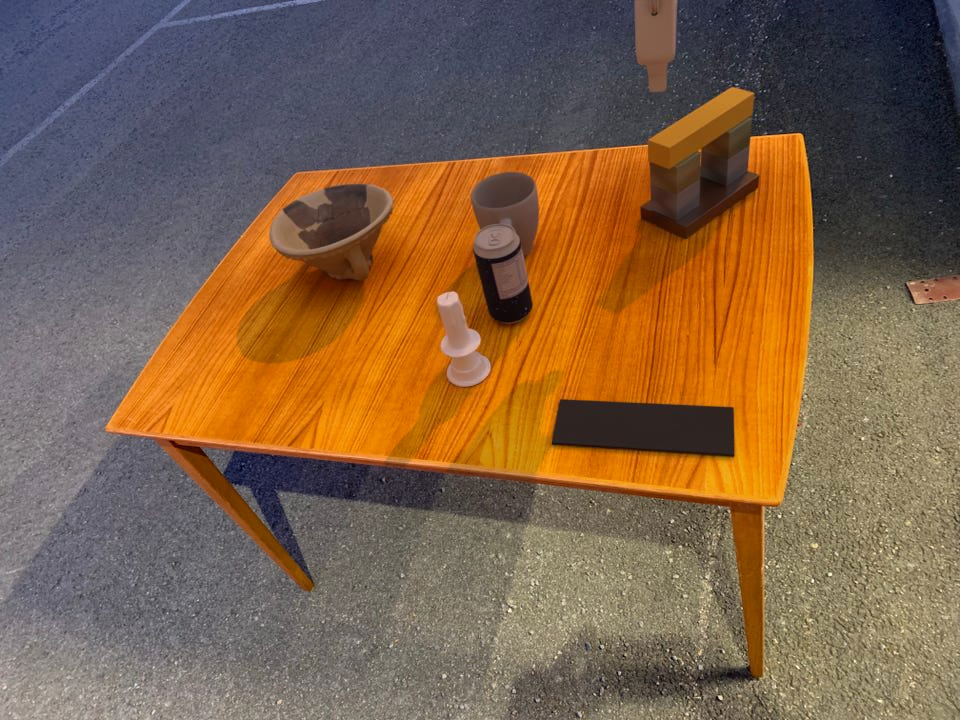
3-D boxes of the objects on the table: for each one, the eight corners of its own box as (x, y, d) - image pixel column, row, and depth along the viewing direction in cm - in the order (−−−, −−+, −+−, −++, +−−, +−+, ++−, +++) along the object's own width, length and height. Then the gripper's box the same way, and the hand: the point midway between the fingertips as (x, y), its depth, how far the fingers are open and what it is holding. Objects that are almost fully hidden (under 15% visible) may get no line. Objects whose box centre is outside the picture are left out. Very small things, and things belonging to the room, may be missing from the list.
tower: (758, 187, 97) (765, 120, 90) (685, 239, 92) (686, 173, 85) (711, 170, 102) (714, 105, 95) (640, 218, 97) (637, 154, 90)
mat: (733, 409, 71) (733, 406, 71) (734, 456, 67) (734, 454, 67) (560, 401, 77) (559, 398, 76) (551, 444, 73) (551, 442, 73)
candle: (466, 349, 86) (443, 273, 77) (499, 364, 83) (480, 287, 74) (438, 377, 83) (411, 302, 75) (471, 393, 80) (448, 317, 72)
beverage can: (534, 296, 90) (520, 219, 82) (532, 326, 86) (517, 248, 78) (491, 299, 91) (473, 224, 83) (487, 329, 87) (468, 253, 79)
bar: (752, 114, 92) (754, 92, 90) (669, 169, 86) (669, 147, 84) (730, 108, 94) (732, 86, 92) (648, 161, 89) (647, 139, 87)
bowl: (428, 268, 99) (410, 212, 92) (311, 323, 95) (284, 268, 89) (384, 215, 111) (366, 162, 104) (279, 262, 107) (254, 210, 101)
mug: (484, 234, 102) (471, 177, 95) (544, 225, 101) (534, 166, 94) (482, 286, 94) (468, 227, 87) (548, 277, 92) (538, 217, 85)
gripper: (691, -42, 59) (689, 112, 68) (691, -108, 72) (689, 28, 82) (615, -31, 60) (623, 117, 70) (629, -98, 74) (634, 34, 84)
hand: (659, 68), depth 76 cm, fingers open, 8 cm apart
